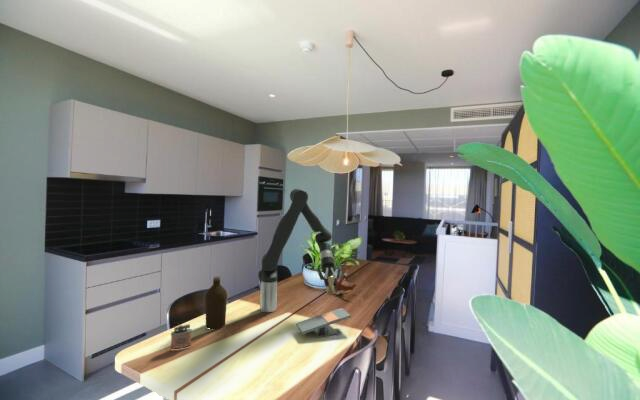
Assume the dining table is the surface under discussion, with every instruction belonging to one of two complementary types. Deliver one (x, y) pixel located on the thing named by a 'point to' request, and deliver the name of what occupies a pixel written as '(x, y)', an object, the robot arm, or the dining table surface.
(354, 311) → the dining table surface
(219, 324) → the olive oil
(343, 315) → the seesaw board
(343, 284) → the decorative bird
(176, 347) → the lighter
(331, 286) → the ball
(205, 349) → the dining table surface
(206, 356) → the dining table surface
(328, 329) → the pivot stand
